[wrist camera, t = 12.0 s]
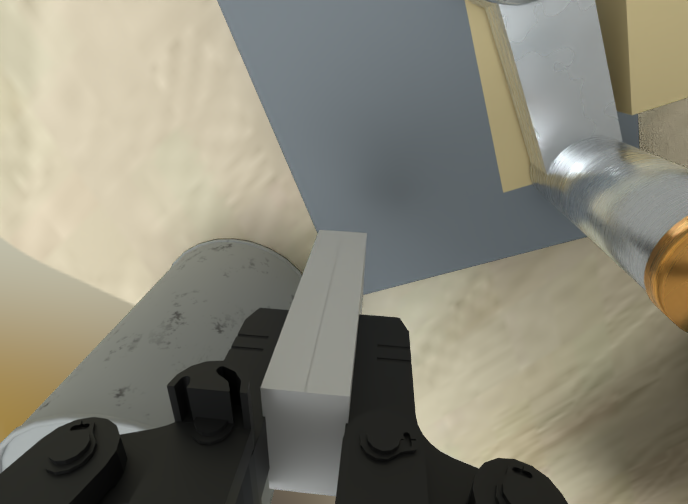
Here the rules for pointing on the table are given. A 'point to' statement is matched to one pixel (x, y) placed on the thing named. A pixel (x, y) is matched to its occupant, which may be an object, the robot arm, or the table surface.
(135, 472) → the robot arm
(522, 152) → the plate
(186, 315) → the grey cylinder
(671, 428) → the table surface
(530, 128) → the bar
